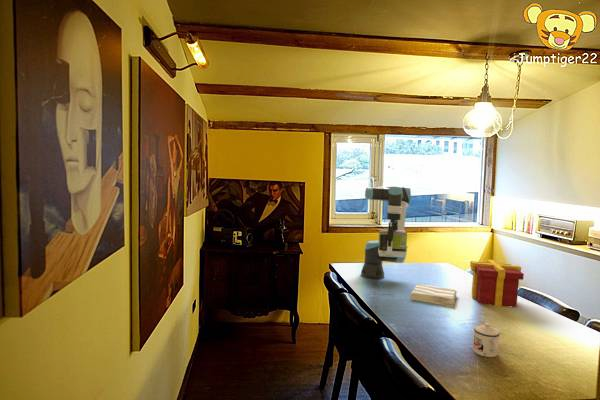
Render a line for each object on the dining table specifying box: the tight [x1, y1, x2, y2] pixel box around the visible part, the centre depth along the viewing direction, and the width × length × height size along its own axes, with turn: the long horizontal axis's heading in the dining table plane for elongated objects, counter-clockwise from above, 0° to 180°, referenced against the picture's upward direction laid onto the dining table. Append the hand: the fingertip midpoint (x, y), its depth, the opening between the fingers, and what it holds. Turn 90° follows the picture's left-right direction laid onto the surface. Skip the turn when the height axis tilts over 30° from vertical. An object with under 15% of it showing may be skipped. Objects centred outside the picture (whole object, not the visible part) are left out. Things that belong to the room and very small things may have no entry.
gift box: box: [469, 259, 524, 308], centre depth 225 cm, size 25×25×20 cm
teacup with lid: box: [472, 322, 500, 358], centre depth 156 cm, size 12×9×12 cm
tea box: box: [378, 228, 408, 259], centre depth 233 cm, size 15×10×15 cm
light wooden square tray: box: [410, 283, 457, 307], centre depth 224 cm, size 20×22×4 cm
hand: (391, 250), depth 233 cm, fingers closed on tea box, 11 cm apart
